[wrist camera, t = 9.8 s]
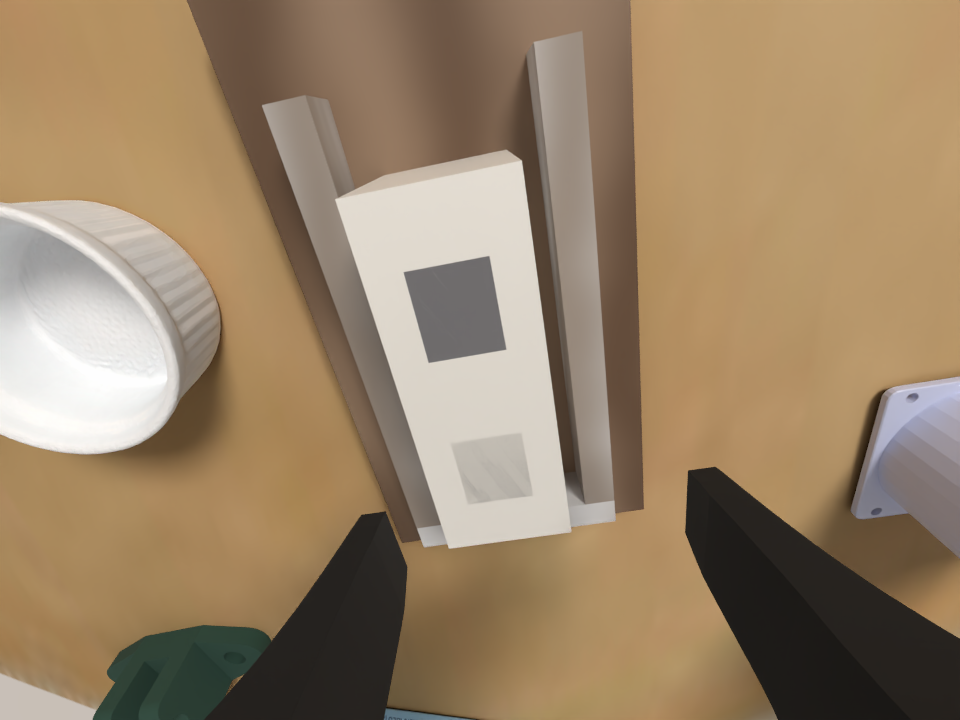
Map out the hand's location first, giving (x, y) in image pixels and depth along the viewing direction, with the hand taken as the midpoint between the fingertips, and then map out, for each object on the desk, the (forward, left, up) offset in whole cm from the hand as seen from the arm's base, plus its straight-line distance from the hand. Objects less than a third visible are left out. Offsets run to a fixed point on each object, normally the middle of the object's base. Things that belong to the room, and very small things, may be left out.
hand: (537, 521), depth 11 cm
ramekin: (+15, -5, -10) cm, 19 cm away
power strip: (+1, -2, -8) cm, 8 cm away
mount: (+24, +18, -10) cm, 32 cm away
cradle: (+1, -2, -9) cm, 10 cm away
